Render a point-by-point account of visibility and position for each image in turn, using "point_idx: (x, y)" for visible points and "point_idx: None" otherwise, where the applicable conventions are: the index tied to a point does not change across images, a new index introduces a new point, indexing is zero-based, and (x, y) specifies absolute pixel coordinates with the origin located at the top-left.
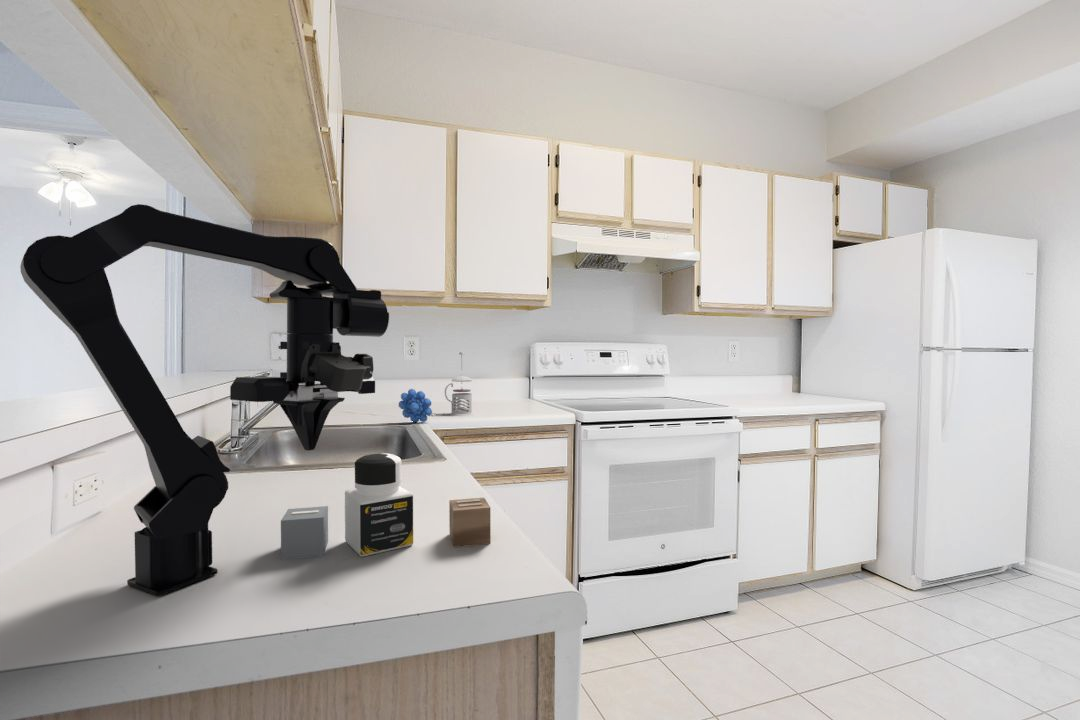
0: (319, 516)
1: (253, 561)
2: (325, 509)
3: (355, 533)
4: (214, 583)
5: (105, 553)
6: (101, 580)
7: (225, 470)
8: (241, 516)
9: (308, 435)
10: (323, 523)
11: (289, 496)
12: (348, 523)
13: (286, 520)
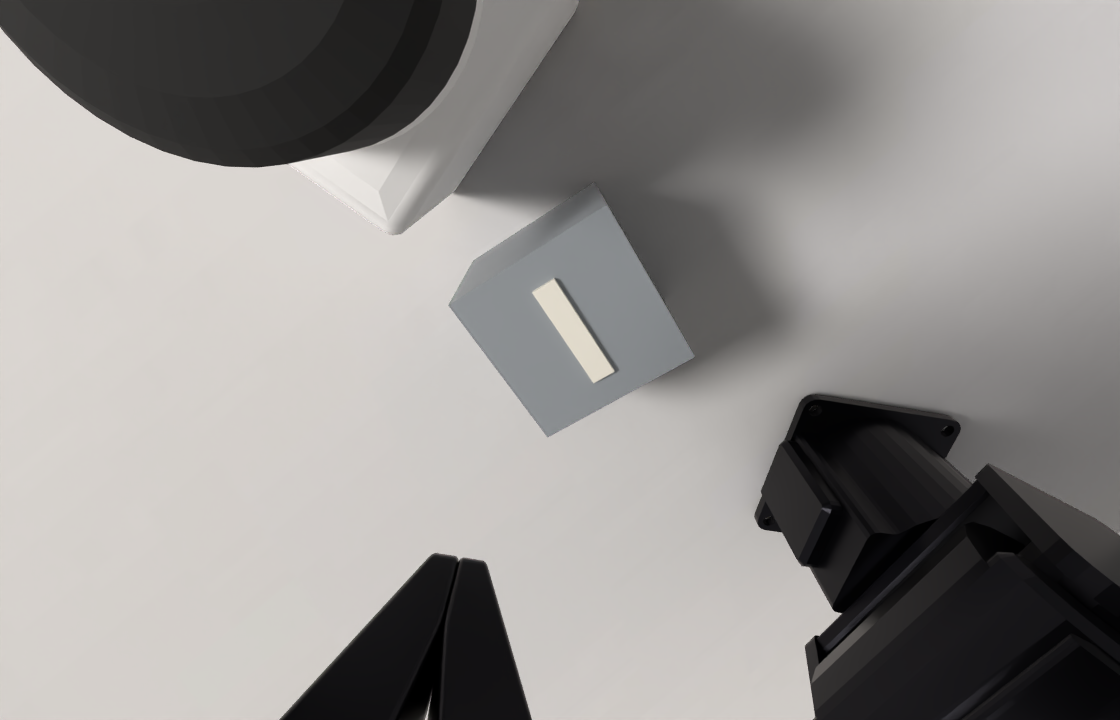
0: (600, 233)
1: (695, 372)
2: (499, 279)
3: (538, 56)
4: (858, 356)
5: (718, 712)
6: None
7: (1093, 649)
8: None
9: (510, 675)
10: (603, 201)
11: (176, 669)
12: (470, 155)
13: (683, 339)
